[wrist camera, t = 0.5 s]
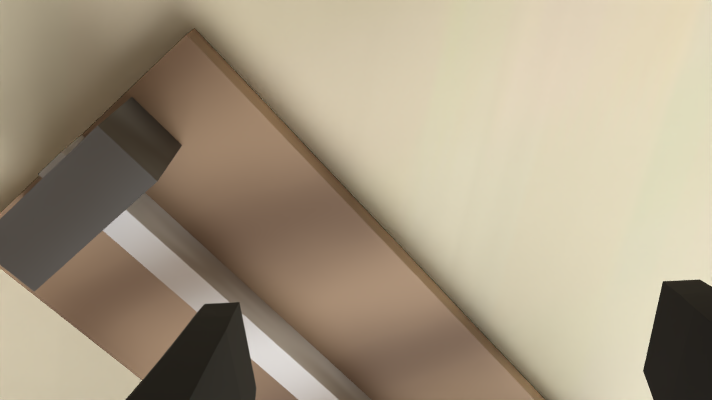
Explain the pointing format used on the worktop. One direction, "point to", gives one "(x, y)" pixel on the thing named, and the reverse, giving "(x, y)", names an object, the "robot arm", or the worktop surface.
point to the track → (237, 249)
